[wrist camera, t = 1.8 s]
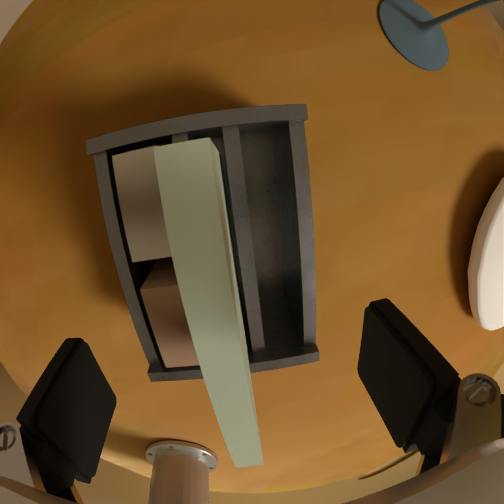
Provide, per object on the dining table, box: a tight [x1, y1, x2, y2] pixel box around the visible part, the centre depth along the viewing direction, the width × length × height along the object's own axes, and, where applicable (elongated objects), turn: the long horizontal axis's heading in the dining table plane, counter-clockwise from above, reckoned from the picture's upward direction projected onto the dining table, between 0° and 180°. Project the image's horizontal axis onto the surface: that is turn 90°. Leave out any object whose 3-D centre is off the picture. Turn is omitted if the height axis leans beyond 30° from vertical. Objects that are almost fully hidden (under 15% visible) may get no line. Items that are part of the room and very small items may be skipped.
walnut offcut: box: [140, 257, 199, 368], centre depth 23 cm, size 7×3×8 cm, turn 7°
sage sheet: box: [153, 138, 264, 468], centre depth 17 cm, size 14×1×18 cm, turn 7°
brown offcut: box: [112, 145, 172, 262], centre depth 20 cm, size 7×3×8 cm, turn 7°
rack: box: [85, 104, 319, 382], centre depth 22 cm, size 19×14×9 cm
